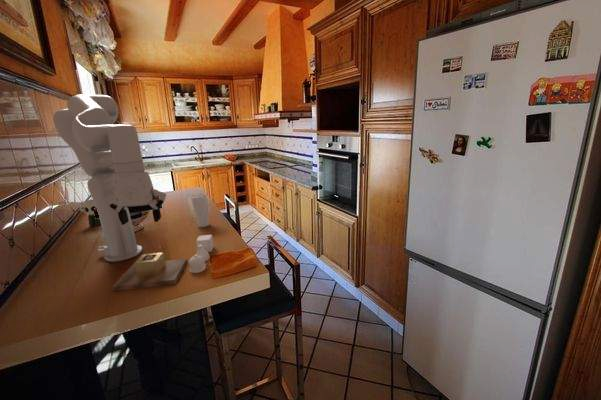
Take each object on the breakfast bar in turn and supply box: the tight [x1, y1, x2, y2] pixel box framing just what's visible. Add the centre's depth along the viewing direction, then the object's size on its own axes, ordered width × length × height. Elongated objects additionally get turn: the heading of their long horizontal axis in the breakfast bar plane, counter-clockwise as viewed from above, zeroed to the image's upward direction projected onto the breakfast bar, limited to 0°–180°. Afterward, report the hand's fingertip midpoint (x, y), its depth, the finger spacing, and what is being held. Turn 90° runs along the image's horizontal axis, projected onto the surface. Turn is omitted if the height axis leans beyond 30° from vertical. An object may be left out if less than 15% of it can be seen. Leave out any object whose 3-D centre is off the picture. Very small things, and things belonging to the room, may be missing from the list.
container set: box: [188, 234, 215, 274], centre depth 101 cm, size 20×5×6 cm, turn 7°
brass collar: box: [133, 251, 166, 278], centre depth 91 cm, size 6×6×5 cm
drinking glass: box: [191, 193, 210, 228], centre depth 134 cm, size 7×7×15 cm
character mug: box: [78, 198, 101, 227], centre depth 146 cm, size 11×7×13 cm, turn 107°
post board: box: [111, 256, 188, 292], centre depth 91 cm, size 18×14×6 cm
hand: (141, 221), depth 88 cm, fingers open, 9 cm apart
